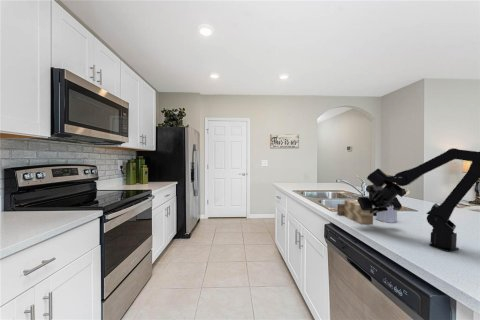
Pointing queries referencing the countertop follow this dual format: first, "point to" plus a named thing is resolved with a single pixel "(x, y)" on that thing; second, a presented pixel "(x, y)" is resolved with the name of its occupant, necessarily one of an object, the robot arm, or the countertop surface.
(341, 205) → the stop block
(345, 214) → the bar
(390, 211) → the soap bottle
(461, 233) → the countertop surface
